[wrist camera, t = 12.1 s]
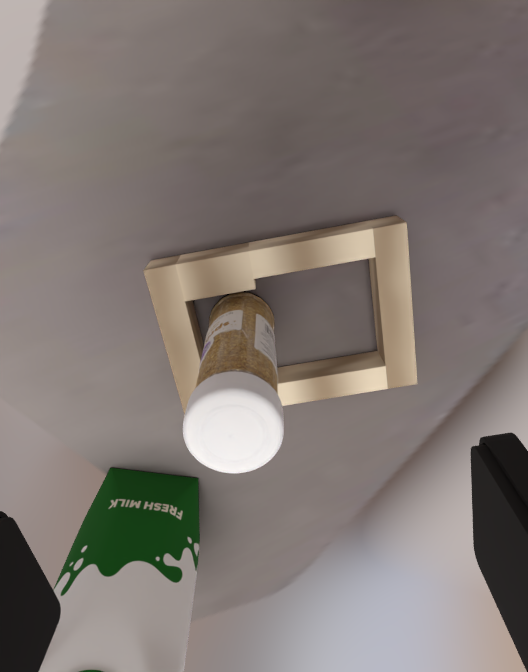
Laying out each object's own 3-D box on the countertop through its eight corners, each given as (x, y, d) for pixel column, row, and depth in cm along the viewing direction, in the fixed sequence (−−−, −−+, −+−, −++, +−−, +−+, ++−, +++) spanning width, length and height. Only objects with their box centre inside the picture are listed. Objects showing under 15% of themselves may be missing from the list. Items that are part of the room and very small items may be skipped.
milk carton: (211, 469, 39) (171, 778, 21) (198, 554, 43) (154, 881, 24) (98, 455, 38) (-46, 761, 20) (95, 542, 42) (-30, 870, 24)
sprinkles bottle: (210, 288, 33) (182, 387, 21) (278, 293, 33) (290, 394, 21) (208, 350, 35) (180, 474, 23) (272, 354, 35) (279, 481, 23)
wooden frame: (396, 215, 31) (406, 222, 29) (407, 367, 36) (417, 383, 34) (150, 260, 32) (143, 270, 30) (190, 403, 37) (186, 421, 34)
